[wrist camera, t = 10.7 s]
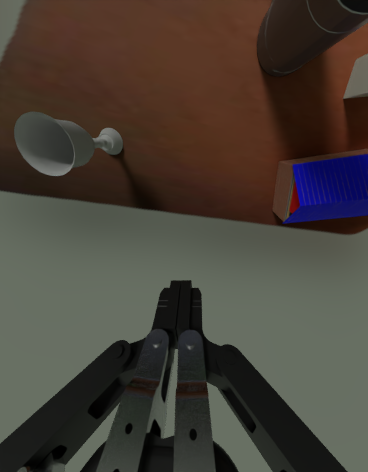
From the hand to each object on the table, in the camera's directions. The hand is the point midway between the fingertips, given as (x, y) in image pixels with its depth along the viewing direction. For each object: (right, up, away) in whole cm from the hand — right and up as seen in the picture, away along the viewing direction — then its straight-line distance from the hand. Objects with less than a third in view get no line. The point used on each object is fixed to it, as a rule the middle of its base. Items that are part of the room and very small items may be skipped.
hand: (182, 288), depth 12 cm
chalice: (-16, +24, +23) cm, 37 cm away
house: (+31, +16, +25) cm, 43 cm away
